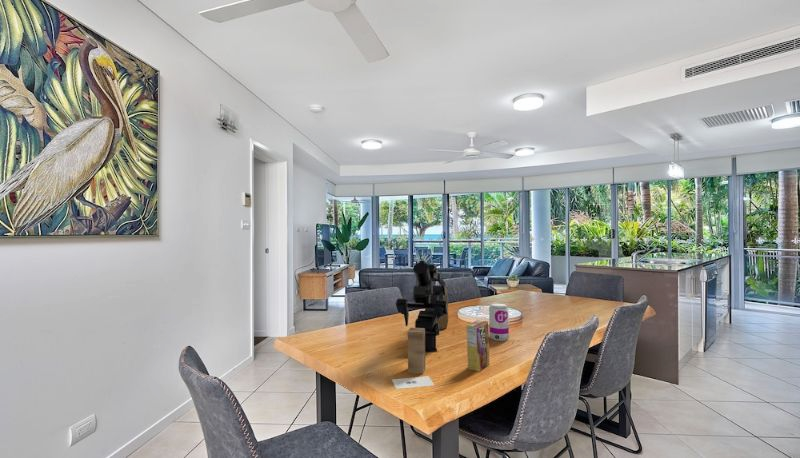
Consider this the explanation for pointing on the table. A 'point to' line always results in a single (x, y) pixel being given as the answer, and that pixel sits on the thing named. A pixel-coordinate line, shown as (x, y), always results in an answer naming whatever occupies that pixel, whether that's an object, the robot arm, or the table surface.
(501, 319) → the supplement can
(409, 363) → the walnut block
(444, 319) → the block
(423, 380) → the tile
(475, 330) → the candy box
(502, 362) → the table surface
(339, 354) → the table surface
